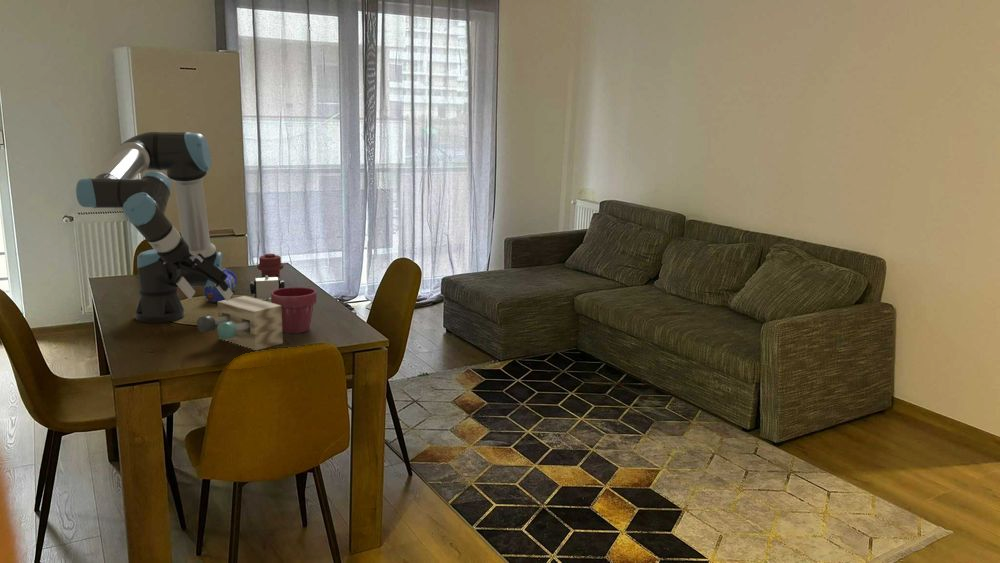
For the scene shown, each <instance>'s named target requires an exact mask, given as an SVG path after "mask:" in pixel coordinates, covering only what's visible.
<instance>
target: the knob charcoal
mask: <svg viewBox="0 0 1000 563" xmlns="http://www.w3.org/2000/svg"><path fill="white" fill-rule="evenodd" d="M229 321H230V315H228V316H223V317H219V318H218V317H215V318H214V316H212V315H204V316H200V317H198V318H197V320H196V325H197V326H196V327H197V329H198V331H199V332H200V333H201V334H205V333H206V334H207V333H209V332H213V331H215V329H216V327H217V326H218V324H220V323H225V322H229Z"/></svg>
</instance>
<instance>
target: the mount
mask: <svg viewBox="0 0 1000 563" xmlns="http://www.w3.org/2000/svg"><path fill="white" fill-rule="evenodd" d="M216 303H217V304H216V305H217V318H219V317H223V316H228V315H230V322H232V323H233V324H234V325H235V324H239V323H244V322H248V321H250V329H246V330H242V331H238V332H236V334H235V336H234V337H232V338H228V339H224V340H225V342H227V341H229V342H228V343H231V342H232V343H231V344H234V343H235V344H234V345H237V344H238V345H237V346H240V345H241V347H243V346H244V347H243V348H246V347H248V348H247V349H249V348H251V349H250V350H252V349H253V350H252V351H255V350H256V351H260V350H264V349H266V348H270V347H273V346H277V345H281V344H284V341H283V339H284V337H283V331H282V308H281V305H278V304H274V303H270V302H267V301H263V300H262V299H260V298H255V297H251V296H247V295H242V296H238V297H232V298H230V299H229V301H226V299H225V300H222V301H217V302H216ZM218 337H219V336H218ZM219 340H221V338H220V337H219ZM224 340H223V341H224Z"/></svg>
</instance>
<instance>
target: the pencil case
mask: <svg viewBox="0 0 1000 563" xmlns="http://www.w3.org/2000/svg"><path fill="white" fill-rule="evenodd" d="M222 272H224V273H225V274H226V275H227V278H226V279H225V282H226V284H227V285H228V286H229V288H230V290H231V291H232V292H233V289H234V288H235V287H236V285H237V282H238V281H237V280H238V279H237V276H236V274H235V273H234V272H233V271H232V270H231V269H230V268H229V269H228V268H226V267H222ZM204 296H205V297H206V299H207V300H208V301H209V302H211V303H217V301H222V300H226V299H225V298H224V297H223V295H222V294H221V293H220V292H219V290H218V289H217V288H216V287H215V286H207V287H204Z"/></svg>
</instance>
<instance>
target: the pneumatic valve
mask: <svg viewBox="0 0 1000 563" xmlns="http://www.w3.org/2000/svg"><path fill="white" fill-rule="evenodd" d="M281 288H286V287H285V280H281V277H280V278H279V277H268V276H265V278H262V277H254V278H253V280H252V281H250V282H249V294H250V295H253V296H254V298H255V299H261V300H263V301H267V302H270V303H271V293H272V291H274V290H277V289H281Z"/></svg>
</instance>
